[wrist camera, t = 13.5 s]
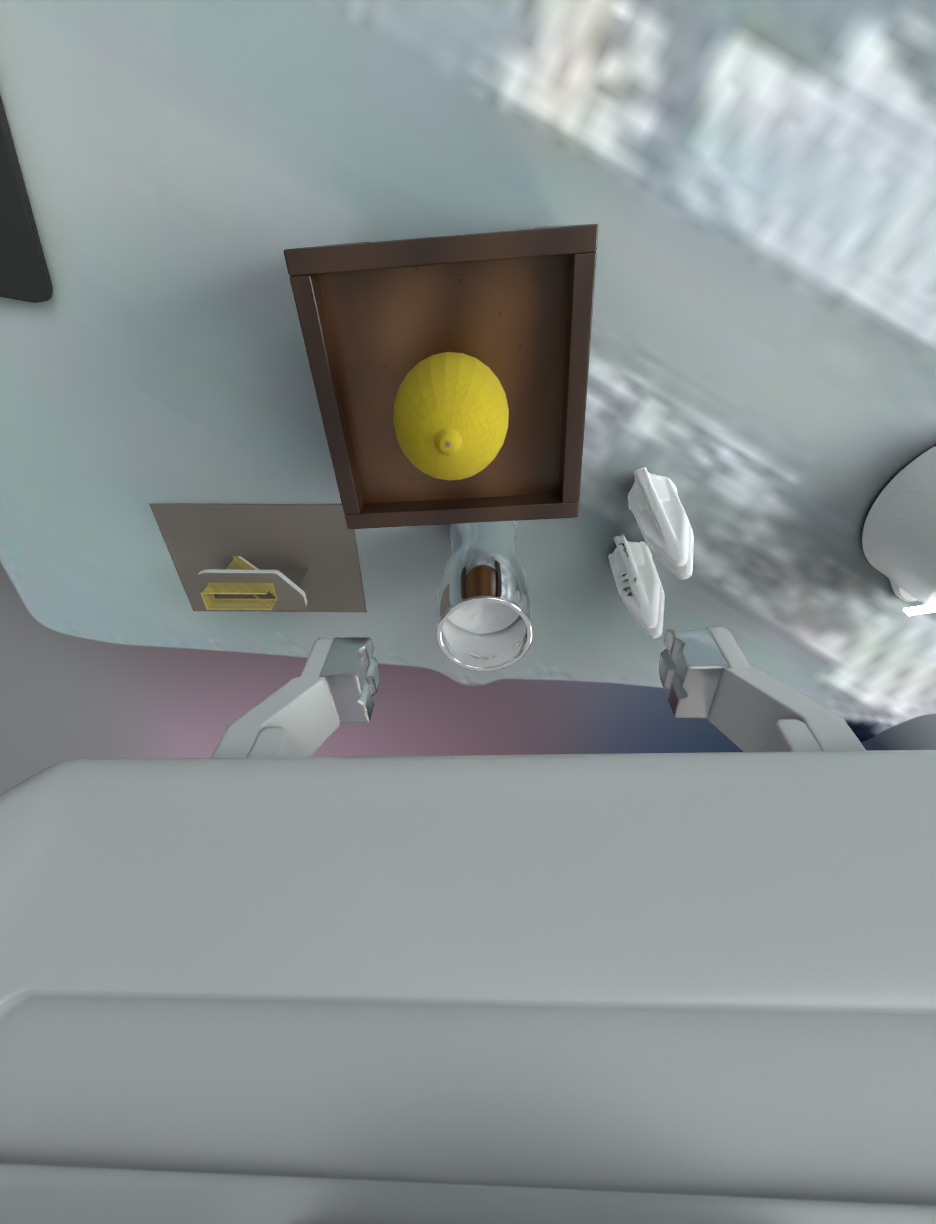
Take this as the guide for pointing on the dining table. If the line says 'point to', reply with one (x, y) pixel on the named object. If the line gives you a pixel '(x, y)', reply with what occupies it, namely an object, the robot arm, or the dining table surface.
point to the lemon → (451, 416)
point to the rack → (461, 323)
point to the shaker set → (652, 549)
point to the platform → (263, 556)
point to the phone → (18, 231)
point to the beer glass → (484, 598)
